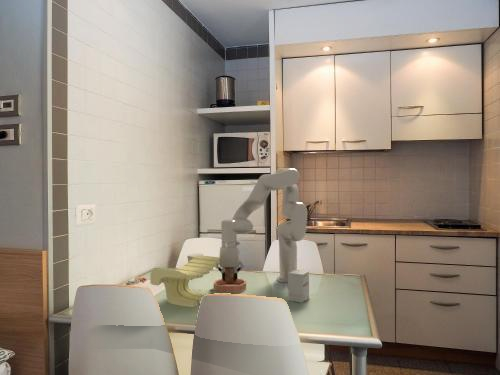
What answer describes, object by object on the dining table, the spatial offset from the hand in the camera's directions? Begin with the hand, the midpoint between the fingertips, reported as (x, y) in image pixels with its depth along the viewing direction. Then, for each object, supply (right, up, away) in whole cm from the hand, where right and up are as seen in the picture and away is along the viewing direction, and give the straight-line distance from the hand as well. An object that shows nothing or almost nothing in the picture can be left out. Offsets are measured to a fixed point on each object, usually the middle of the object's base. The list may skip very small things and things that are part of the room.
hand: (229, 280), depth 201 cm
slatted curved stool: (-19, -6, -17) cm, 26 cm away
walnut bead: (0, -2, 0) cm, 2 cm away
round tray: (0, -4, 0) cm, 4 cm away
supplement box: (+32, -5, -18) cm, 37 cm away
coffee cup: (-21, -4, +28) cm, 35 cm away
